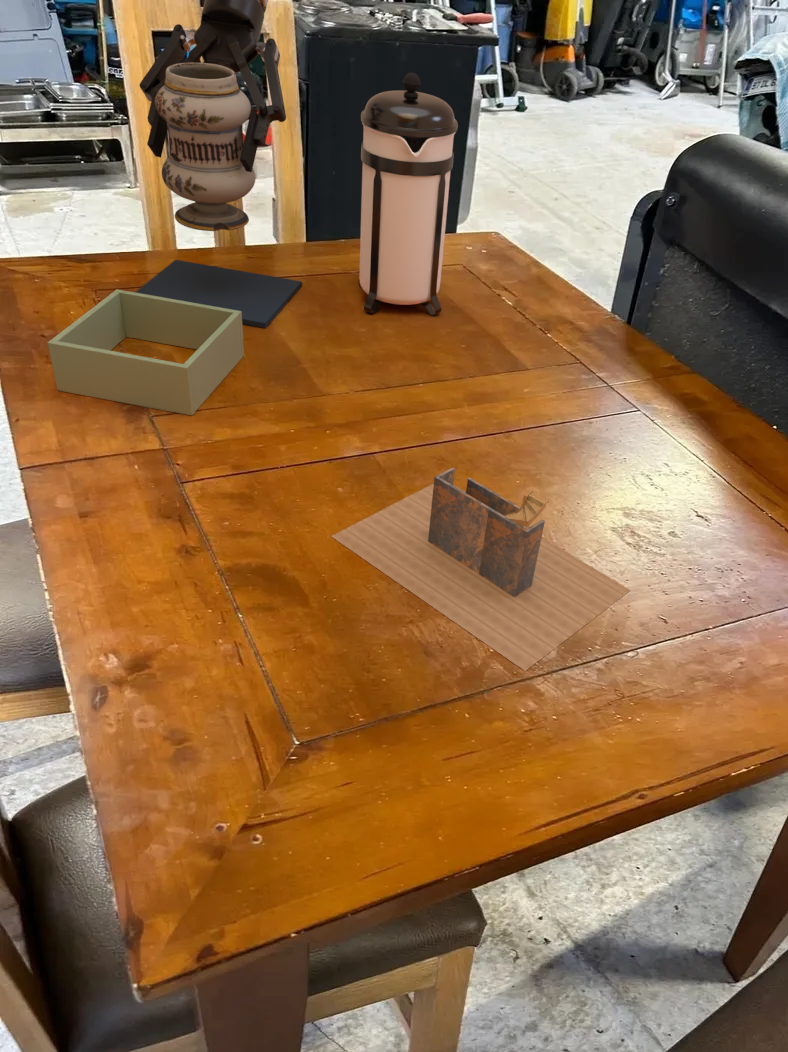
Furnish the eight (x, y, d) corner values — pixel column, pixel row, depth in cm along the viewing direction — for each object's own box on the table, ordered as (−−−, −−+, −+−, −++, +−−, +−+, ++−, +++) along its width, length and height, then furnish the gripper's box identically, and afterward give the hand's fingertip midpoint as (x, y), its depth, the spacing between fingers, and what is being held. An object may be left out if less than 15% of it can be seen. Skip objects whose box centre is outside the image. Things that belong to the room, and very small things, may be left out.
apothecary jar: (185, 239, 115) (169, 82, 103) (154, 209, 122) (136, 59, 110) (271, 229, 121) (265, 79, 109) (237, 201, 128) (228, 57, 116)
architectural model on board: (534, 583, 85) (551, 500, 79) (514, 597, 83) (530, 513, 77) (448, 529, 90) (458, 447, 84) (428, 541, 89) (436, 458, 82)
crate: (57, 390, 104) (46, 342, 100) (123, 333, 116) (116, 288, 112) (192, 415, 102) (187, 368, 98) (244, 355, 115) (241, 311, 111)
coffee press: (472, 303, 135) (498, 79, 115) (401, 330, 125) (416, 91, 106) (390, 267, 143) (401, 52, 123) (316, 290, 133) (316, 61, 113)
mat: (127, 304, 123) (126, 298, 123) (176, 264, 135) (175, 259, 135) (265, 328, 121) (265, 322, 121) (302, 286, 134) (302, 281, 133)
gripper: (331, 35, 118) (296, 188, 117) (160, 10, 120) (124, 160, 119) (319, -8, 111) (281, 155, 109) (137, -34, 113) (98, 126, 111)
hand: (199, 158), depth 114 cm, fingers closed on apothecary jar, 12 cm apart
